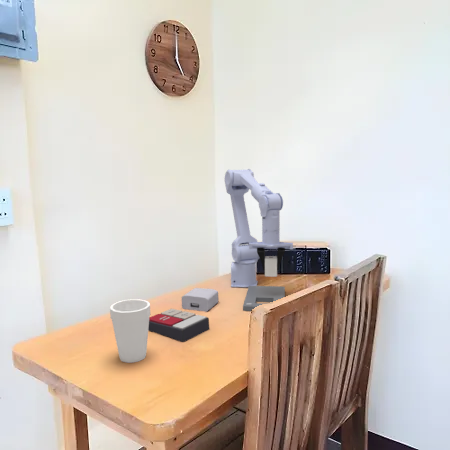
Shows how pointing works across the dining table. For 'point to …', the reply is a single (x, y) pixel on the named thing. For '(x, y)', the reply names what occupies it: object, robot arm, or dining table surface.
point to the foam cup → (131, 328)
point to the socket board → (262, 295)
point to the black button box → (178, 324)
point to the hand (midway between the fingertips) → (271, 269)
